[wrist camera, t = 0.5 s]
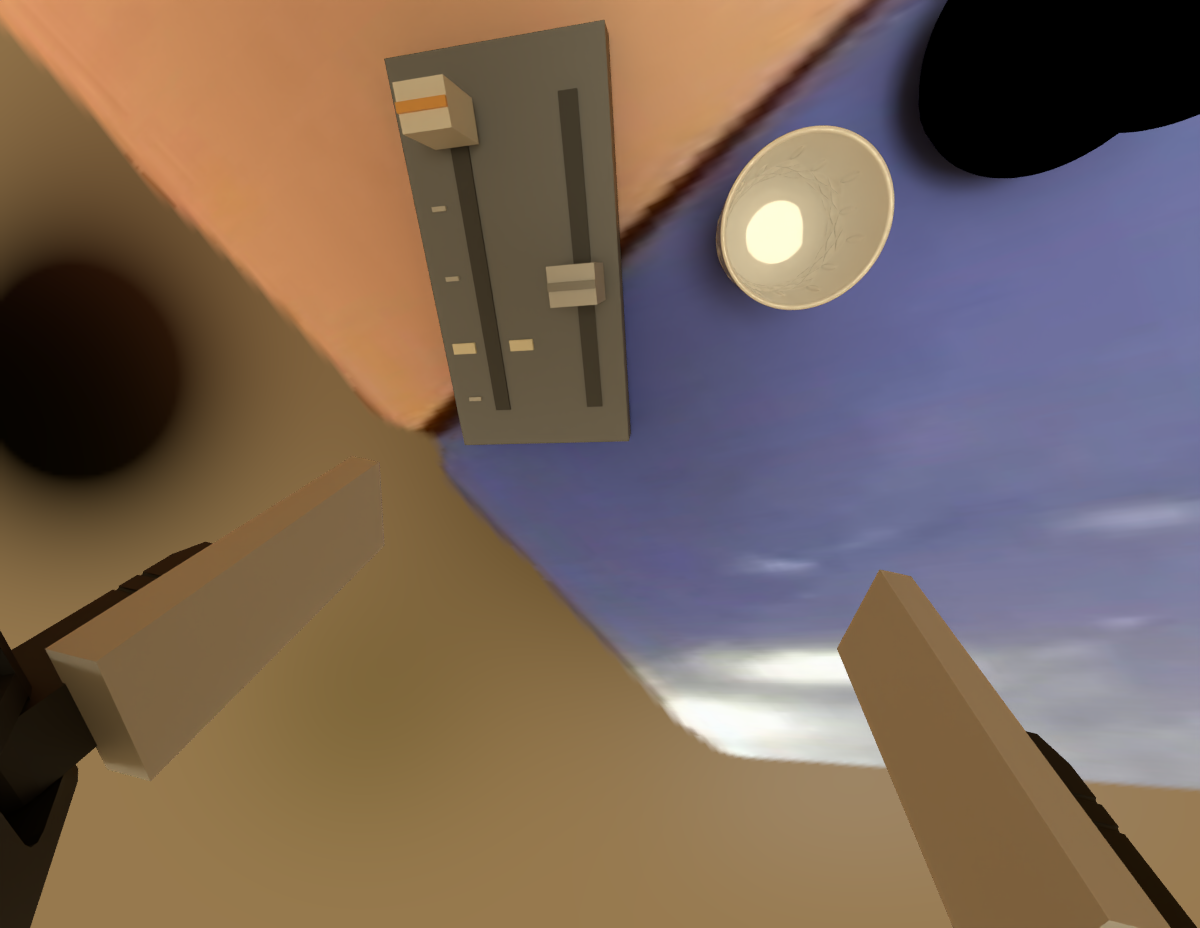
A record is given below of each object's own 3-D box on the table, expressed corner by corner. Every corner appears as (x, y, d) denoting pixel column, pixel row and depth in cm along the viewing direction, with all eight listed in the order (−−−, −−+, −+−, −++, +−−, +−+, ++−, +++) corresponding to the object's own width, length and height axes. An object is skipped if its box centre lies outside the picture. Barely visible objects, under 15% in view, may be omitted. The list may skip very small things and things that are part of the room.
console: (399, 69, 30) (382, 57, 28) (608, 34, 28) (603, 17, 26) (473, 437, 40) (463, 446, 39) (630, 433, 38) (628, 442, 36)
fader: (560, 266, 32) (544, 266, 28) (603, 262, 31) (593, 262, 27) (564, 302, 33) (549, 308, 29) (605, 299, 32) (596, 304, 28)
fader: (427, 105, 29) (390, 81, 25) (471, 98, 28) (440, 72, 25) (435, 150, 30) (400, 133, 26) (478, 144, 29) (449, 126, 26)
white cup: (734, 317, 33) (757, 337, 24) (687, 212, 31) (694, 191, 22) (845, 259, 31) (916, 257, 22) (803, 140, 29) (863, 83, 20)
